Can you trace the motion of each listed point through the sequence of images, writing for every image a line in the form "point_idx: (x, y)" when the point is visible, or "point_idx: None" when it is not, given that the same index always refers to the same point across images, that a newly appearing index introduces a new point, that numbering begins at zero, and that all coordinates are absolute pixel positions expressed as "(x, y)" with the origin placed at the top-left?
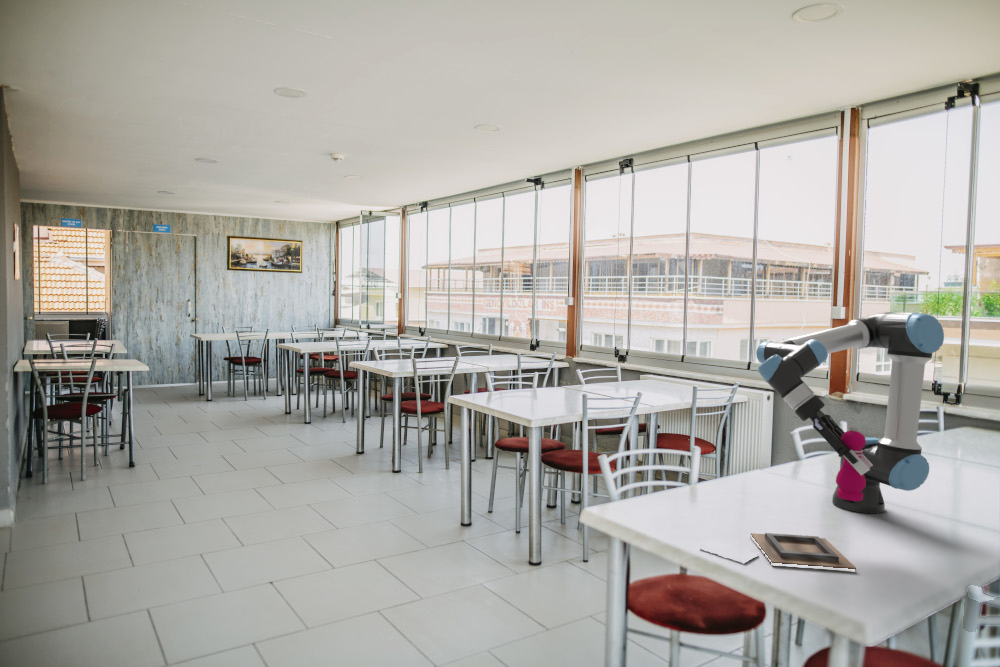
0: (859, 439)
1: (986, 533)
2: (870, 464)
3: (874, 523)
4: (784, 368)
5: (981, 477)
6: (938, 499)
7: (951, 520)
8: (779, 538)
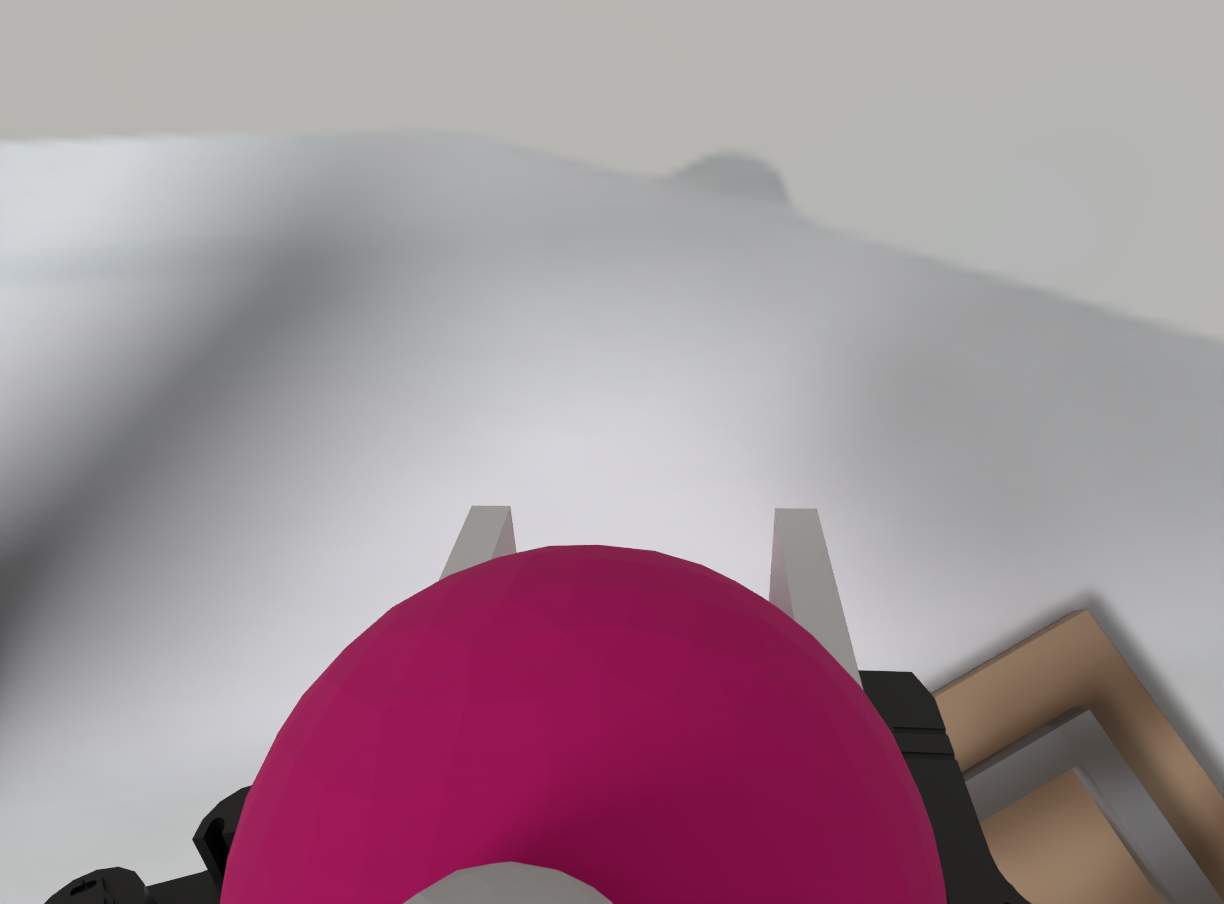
0: (853, 685)
1: (19, 158)
2: (503, 532)
3: (128, 613)
4: None
5: None
6: None
7: None
8: None
